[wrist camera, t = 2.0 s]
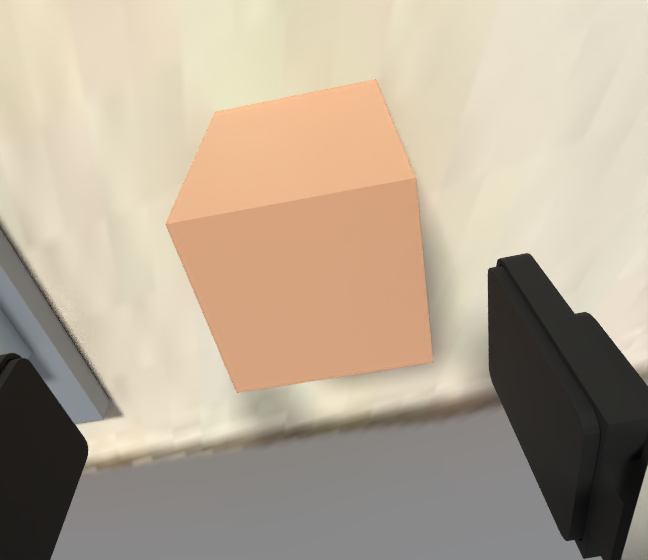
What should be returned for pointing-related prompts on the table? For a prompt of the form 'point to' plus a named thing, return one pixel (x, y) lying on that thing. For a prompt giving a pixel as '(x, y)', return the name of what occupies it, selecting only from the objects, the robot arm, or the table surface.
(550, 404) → the robot arm
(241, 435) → the table surface
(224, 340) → the orange rectangular block
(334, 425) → the table surface
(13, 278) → the holder dock
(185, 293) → the table surface
